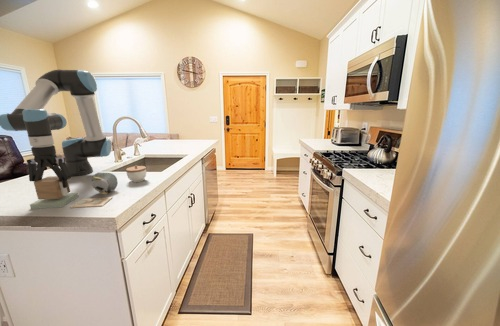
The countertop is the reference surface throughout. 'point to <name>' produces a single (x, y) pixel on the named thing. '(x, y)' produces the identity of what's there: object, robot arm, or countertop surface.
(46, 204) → the base plate
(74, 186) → the countertop surface
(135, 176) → the lidded jar
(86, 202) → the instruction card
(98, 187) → the decorative toy
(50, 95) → the robot arm
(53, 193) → the walnut cube
